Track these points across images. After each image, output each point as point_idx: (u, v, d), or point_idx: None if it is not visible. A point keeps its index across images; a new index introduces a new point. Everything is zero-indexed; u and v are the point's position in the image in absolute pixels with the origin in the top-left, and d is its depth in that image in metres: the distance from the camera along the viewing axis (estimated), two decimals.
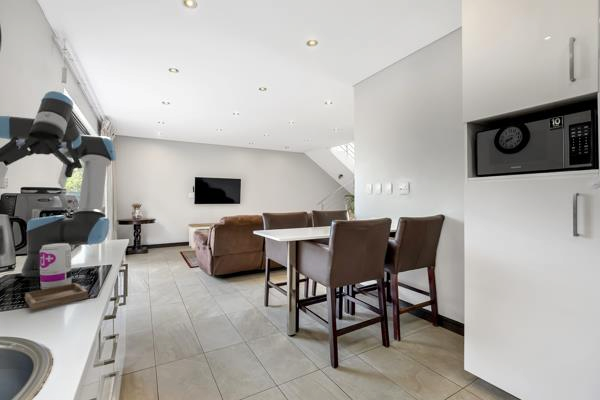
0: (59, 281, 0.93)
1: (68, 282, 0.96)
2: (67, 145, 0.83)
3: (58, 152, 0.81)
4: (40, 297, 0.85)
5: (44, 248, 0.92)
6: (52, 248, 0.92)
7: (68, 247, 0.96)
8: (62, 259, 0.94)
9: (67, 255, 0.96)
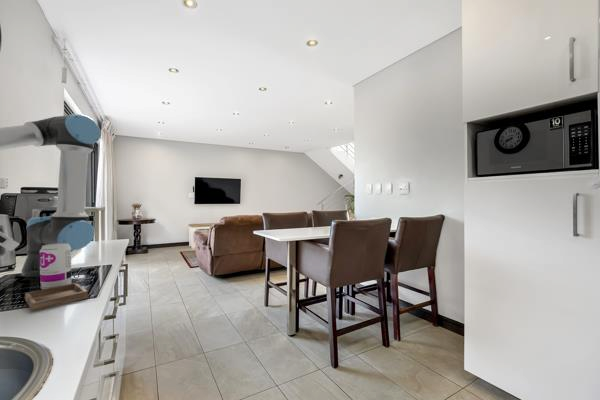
0: (59, 281, 0.93)
1: (68, 282, 0.96)
2: None
3: None
4: (40, 297, 0.85)
5: (44, 248, 0.92)
6: (52, 248, 0.92)
7: (68, 247, 0.96)
8: (62, 259, 0.94)
9: (67, 255, 0.96)
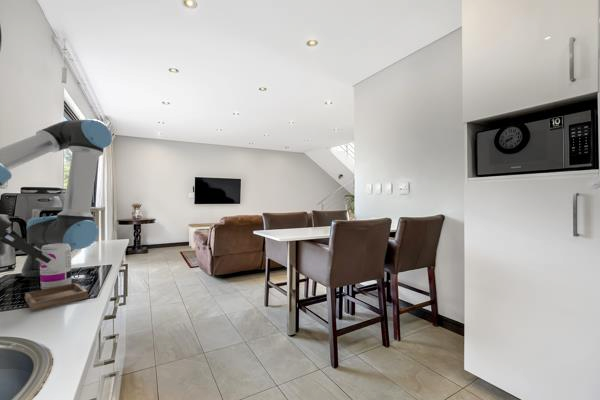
0: (59, 281, 0.93)
1: (68, 282, 0.96)
2: (10, 243, 0.82)
3: None
4: (40, 297, 0.85)
5: (44, 248, 0.92)
6: (52, 248, 0.92)
7: (68, 247, 0.96)
8: (62, 259, 0.94)
9: (67, 255, 0.96)
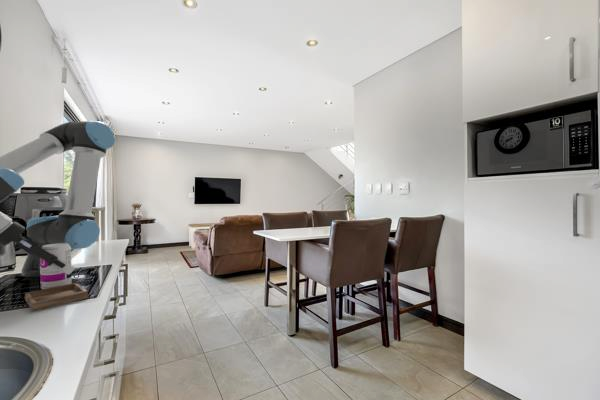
0: (59, 281, 0.93)
1: (68, 282, 0.96)
2: (26, 249, 0.86)
3: None
4: (40, 297, 0.85)
5: (44, 248, 0.92)
6: (52, 248, 0.92)
7: (68, 247, 0.96)
8: (62, 259, 0.94)
9: (68, 254, 0.96)
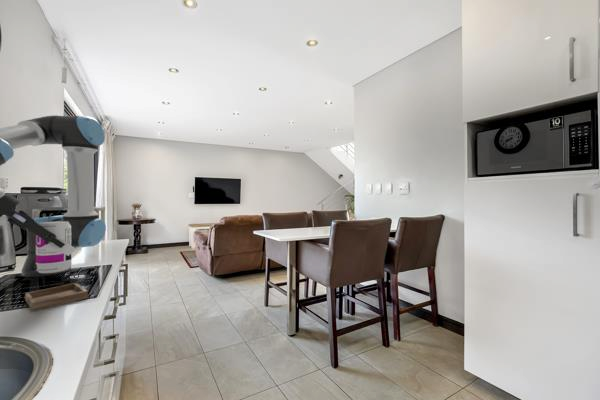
0: (57, 262, 0.82)
1: (67, 265, 0.85)
2: (20, 224, 0.75)
3: (29, 230, 0.78)
4: (40, 297, 0.85)
5: (41, 225, 0.81)
6: (50, 225, 0.81)
7: (68, 225, 0.85)
8: (61, 238, 0.83)
9: (67, 233, 0.85)
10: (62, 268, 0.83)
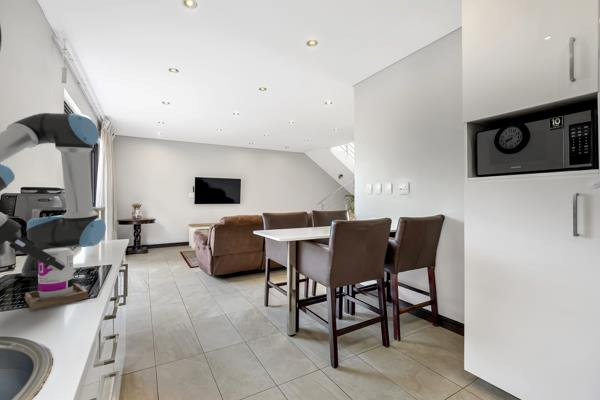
0: (59, 290, 0.83)
1: (70, 291, 0.86)
2: (20, 249, 0.74)
3: None
4: None
5: None
6: (52, 253, 0.82)
7: (70, 252, 0.86)
8: None
9: (69, 261, 0.85)
10: (64, 295, 0.84)
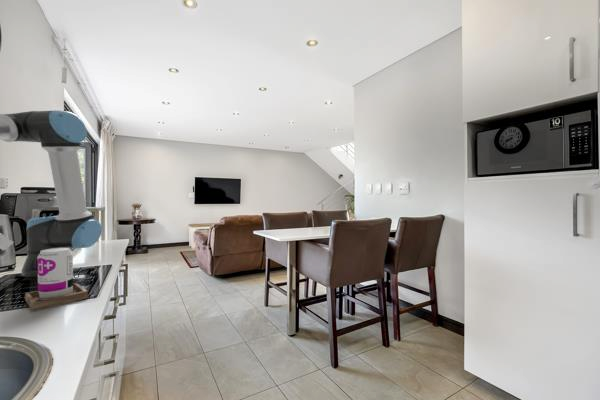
0: (59, 290, 0.83)
1: (69, 291, 0.86)
2: None
3: None
4: None
5: (42, 254, 0.81)
6: (51, 253, 0.82)
7: (69, 252, 0.86)
8: (63, 265, 0.83)
9: (69, 261, 0.85)
10: (64, 295, 0.84)
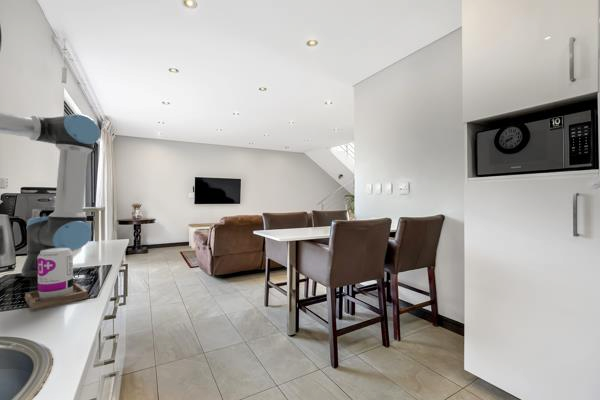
0: (59, 290, 0.83)
1: (69, 291, 0.86)
2: None
3: None
4: None
5: (42, 254, 0.81)
6: (51, 254, 0.82)
7: (69, 252, 0.86)
8: (63, 266, 0.83)
9: (69, 261, 0.85)
10: (64, 295, 0.84)
